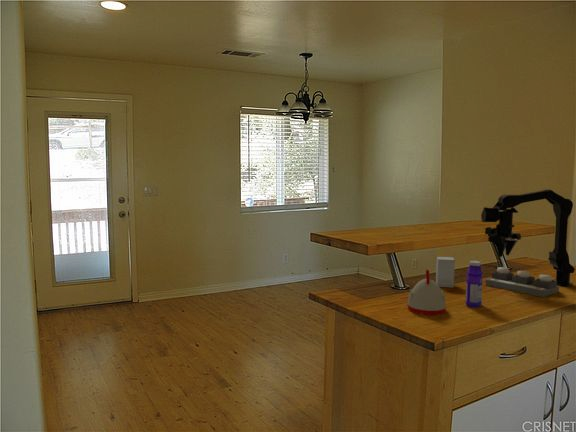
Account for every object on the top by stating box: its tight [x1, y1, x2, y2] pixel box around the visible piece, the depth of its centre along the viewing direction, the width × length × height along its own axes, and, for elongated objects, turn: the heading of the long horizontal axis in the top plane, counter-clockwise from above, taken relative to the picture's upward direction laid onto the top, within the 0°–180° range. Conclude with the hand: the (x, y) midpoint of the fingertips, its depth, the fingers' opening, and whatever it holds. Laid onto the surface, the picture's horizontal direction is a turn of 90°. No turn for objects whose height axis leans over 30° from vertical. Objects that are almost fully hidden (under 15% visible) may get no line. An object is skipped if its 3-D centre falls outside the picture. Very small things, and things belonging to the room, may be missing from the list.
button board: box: [485, 271, 560, 298], centre depth 218 cm, size 14×26×5 cm, turn 38°
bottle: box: [465, 260, 484, 308], centre depth 190 cm, size 7×6×17 cm
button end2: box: [538, 273, 553, 283], centre depth 211 cm, size 5×5×2 cm
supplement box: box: [435, 256, 456, 288], centre depth 222 cm, size 7×7×13 cm
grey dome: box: [407, 269, 447, 316], centre depth 185 cm, size 14×14×15 cm
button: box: [496, 266, 510, 275], centre depth 226 cm, size 5×5×2 cm
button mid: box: [516, 270, 531, 279], centre depth 218 cm, size 5×5×2 cm
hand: (503, 256), depth 225 cm, fingers open, 6 cm apart
